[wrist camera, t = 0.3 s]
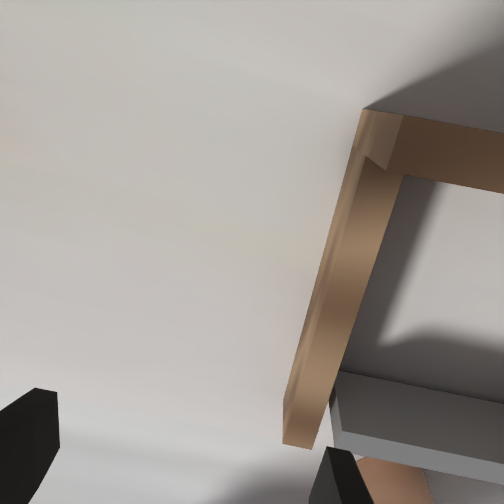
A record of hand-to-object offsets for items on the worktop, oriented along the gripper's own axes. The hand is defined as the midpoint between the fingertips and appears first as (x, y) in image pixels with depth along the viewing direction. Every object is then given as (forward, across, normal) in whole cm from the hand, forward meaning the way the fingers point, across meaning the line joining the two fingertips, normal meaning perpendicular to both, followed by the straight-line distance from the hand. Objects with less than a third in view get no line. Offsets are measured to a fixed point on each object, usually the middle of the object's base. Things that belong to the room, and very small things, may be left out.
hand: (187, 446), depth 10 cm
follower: (+9, -11, +5) cm, 15 cm away
